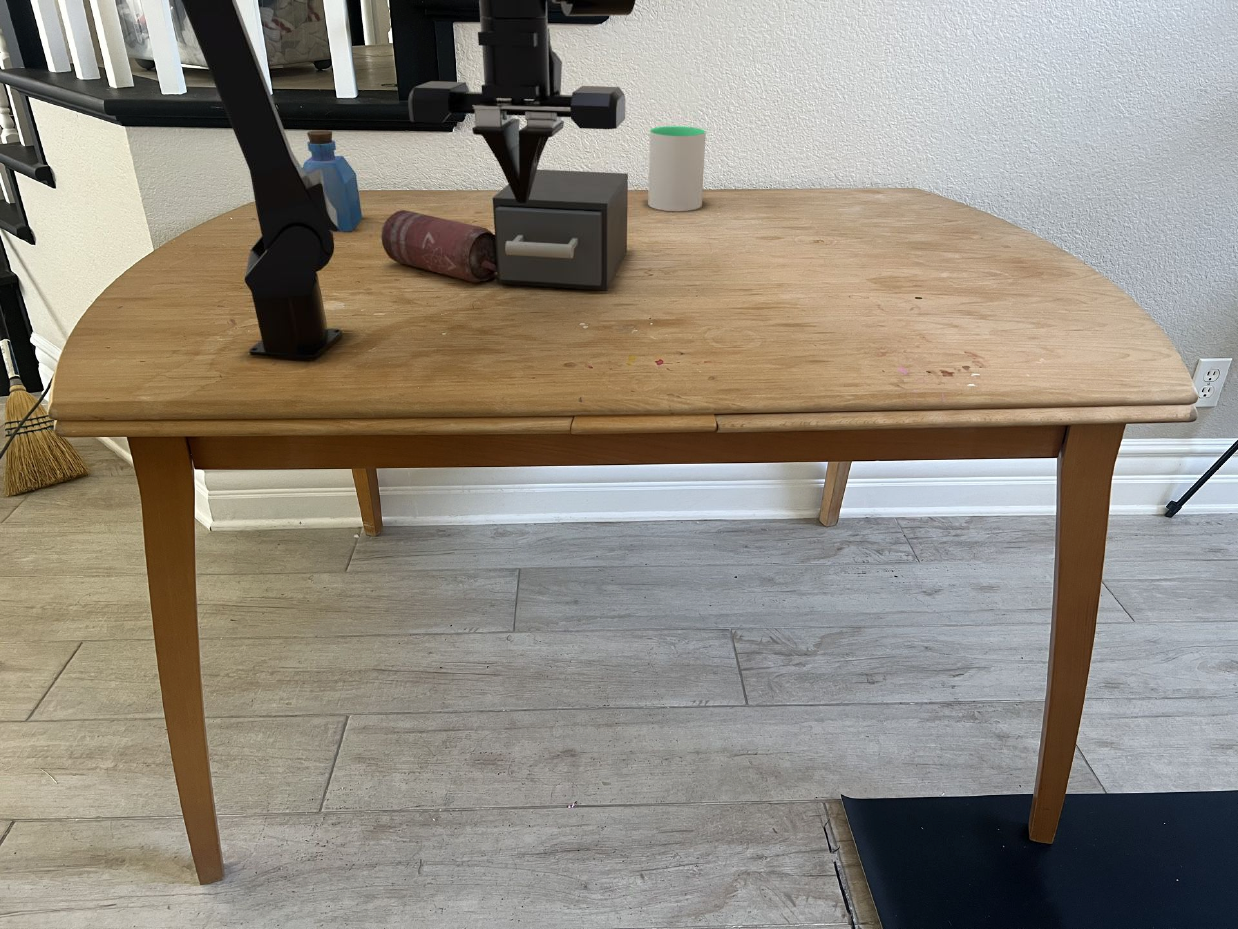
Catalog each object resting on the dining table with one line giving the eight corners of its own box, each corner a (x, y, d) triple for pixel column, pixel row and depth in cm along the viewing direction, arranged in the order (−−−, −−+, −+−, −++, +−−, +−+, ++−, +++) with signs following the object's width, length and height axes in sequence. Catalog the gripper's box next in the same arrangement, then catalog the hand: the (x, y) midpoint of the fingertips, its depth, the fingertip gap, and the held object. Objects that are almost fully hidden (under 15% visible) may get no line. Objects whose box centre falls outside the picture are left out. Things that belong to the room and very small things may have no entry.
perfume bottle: (362, 218, 120) (349, 128, 114) (352, 231, 115) (337, 136, 108) (317, 218, 120) (302, 128, 114) (305, 231, 114) (288, 136, 108)
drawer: (592, 300, 90) (591, 226, 86) (487, 293, 92) (482, 220, 88) (619, 250, 105) (620, 185, 101) (529, 244, 107) (526, 180, 103)
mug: (635, 193, 134) (636, 122, 129) (684, 190, 136) (687, 120, 131) (656, 212, 124) (658, 137, 119) (709, 209, 126) (713, 135, 121)
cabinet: (607, 290, 95) (607, 203, 90) (497, 283, 97) (492, 197, 92) (626, 251, 108) (628, 173, 103) (529, 246, 109) (526, 168, 104)
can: (408, 269, 105) (493, 292, 99) (372, 248, 100) (459, 271, 93) (425, 224, 105) (512, 243, 99) (390, 200, 100) (479, 219, 93)
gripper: (635, 13, 79) (632, 187, 87) (440, 9, 81) (455, 179, 89) (615, 21, 69) (614, 215, 77) (396, 17, 72) (417, 205, 80)
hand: (522, 202), depth 81 cm, fingers closed
